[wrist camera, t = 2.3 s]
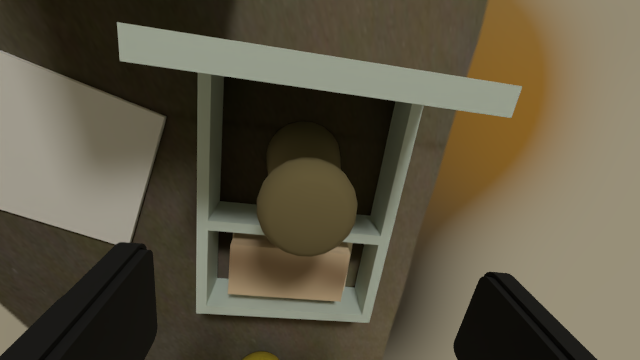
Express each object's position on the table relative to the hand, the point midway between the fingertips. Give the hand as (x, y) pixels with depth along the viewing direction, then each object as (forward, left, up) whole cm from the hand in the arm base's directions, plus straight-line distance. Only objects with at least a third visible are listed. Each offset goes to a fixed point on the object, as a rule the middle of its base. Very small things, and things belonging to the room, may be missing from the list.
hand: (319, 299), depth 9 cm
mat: (-7, +17, -17) cm, 25 cm away
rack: (-3, -1, -17) cm, 17 cm away
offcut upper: (-9, -2, -15) cm, 17 cm away
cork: (0, 0, -17) cm, 17 cm away
